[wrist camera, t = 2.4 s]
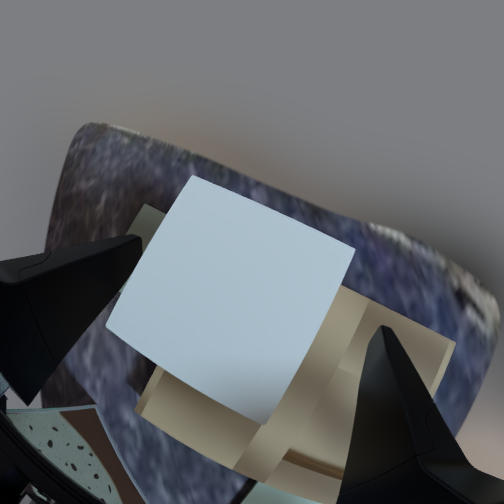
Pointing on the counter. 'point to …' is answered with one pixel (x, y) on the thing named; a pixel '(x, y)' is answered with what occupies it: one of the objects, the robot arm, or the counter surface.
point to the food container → (79, 450)
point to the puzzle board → (291, 400)
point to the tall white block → (230, 296)
